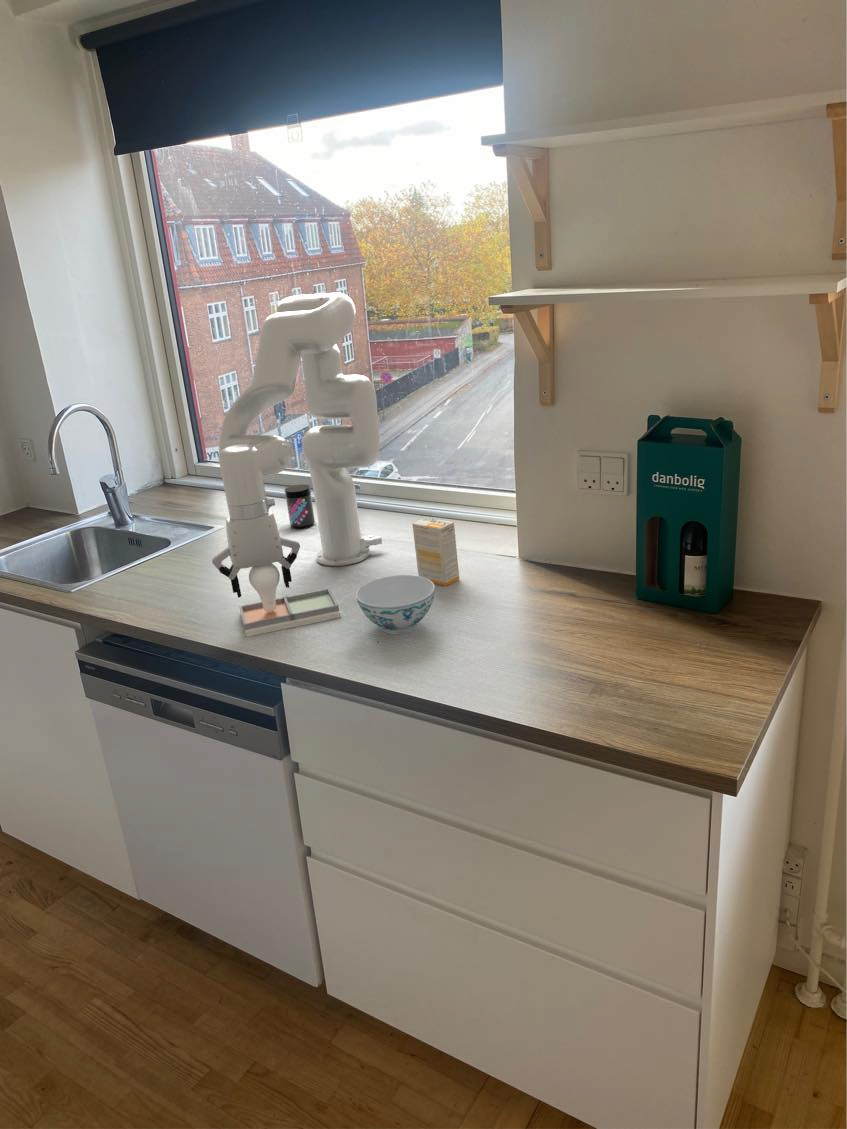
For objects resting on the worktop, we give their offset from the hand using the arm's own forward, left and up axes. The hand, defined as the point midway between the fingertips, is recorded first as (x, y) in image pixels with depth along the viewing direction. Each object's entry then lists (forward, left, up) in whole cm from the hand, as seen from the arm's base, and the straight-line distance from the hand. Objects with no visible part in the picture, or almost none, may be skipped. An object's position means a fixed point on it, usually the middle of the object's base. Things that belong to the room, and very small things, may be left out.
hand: (263, 590), depth 174 cm
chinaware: (-23, +16, -7) cm, 29 cm away
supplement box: (-37, -3, -7) cm, 38 cm away
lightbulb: (-1, 0, -6) cm, 6 cm away
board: (-4, 0, -7) cm, 8 cm away
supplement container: (-16, -58, -7) cm, 60 cm away
